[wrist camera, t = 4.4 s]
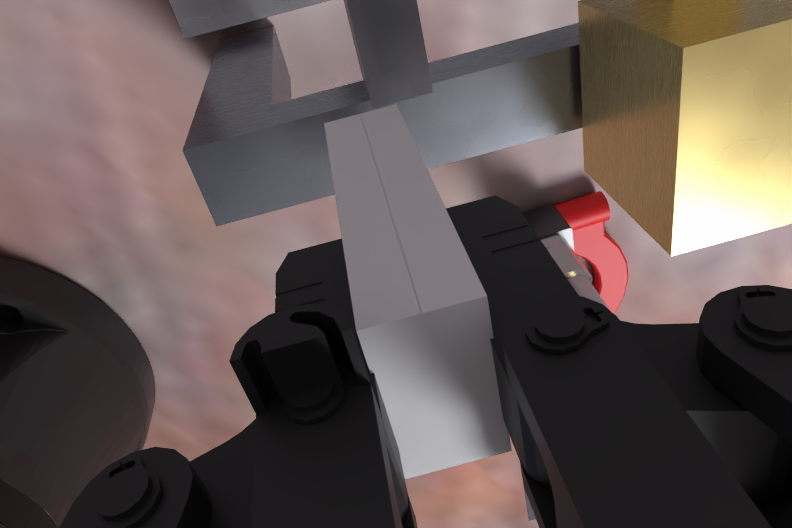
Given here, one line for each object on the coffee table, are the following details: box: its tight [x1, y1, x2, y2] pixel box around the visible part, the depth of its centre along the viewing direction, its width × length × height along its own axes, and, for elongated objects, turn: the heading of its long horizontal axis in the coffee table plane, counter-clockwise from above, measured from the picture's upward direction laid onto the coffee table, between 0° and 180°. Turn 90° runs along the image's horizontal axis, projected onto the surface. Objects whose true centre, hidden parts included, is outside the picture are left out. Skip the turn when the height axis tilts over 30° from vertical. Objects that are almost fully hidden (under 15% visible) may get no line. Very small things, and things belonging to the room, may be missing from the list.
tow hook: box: [522, 191, 628, 314], centre depth 26 cm, size 8×13×9 cm
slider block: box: [578, 0, 792, 256], centre depth 16 cm, size 4×6×13 cm, turn 12°
